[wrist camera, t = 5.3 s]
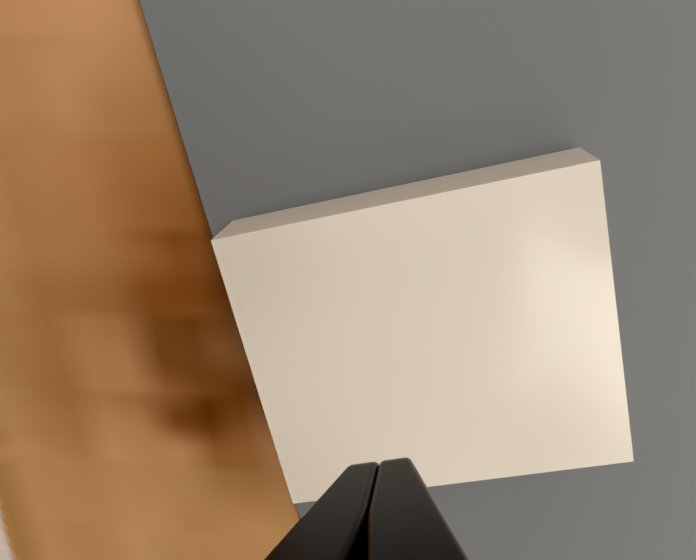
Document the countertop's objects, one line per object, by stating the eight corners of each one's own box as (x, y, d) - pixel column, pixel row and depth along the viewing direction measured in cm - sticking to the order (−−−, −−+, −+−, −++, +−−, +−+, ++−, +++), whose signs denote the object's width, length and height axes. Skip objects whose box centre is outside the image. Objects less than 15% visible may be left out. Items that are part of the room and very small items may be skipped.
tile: (633, 461, 13) (293, 503, 14) (610, 414, 14) (306, 456, 15) (600, 160, 11) (210, 240, 12) (577, 145, 12) (235, 217, 14)
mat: (885, 616, 16) (899, 634, 15) (350, 657, 18) (348, 674, 18) (914, -251, 10) (937, -265, 10) (141, -25, 13) (130, -28, 12)
